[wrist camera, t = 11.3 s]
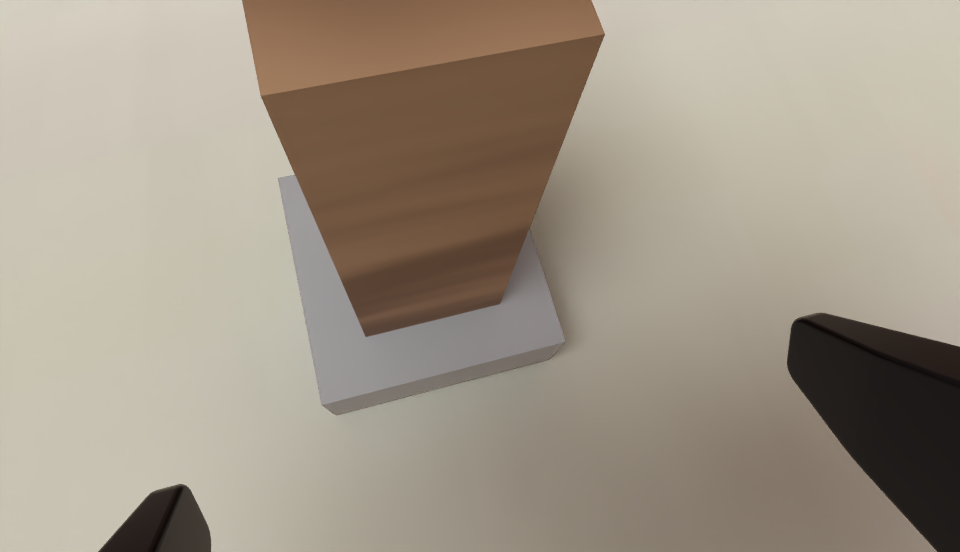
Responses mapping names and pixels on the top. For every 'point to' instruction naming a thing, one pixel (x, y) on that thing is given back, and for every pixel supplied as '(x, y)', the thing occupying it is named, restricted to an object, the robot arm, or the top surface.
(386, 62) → the walnut block
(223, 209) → the top surface
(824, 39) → the top surface
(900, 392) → the robot arm
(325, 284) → the plinth
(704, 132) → the top surface
